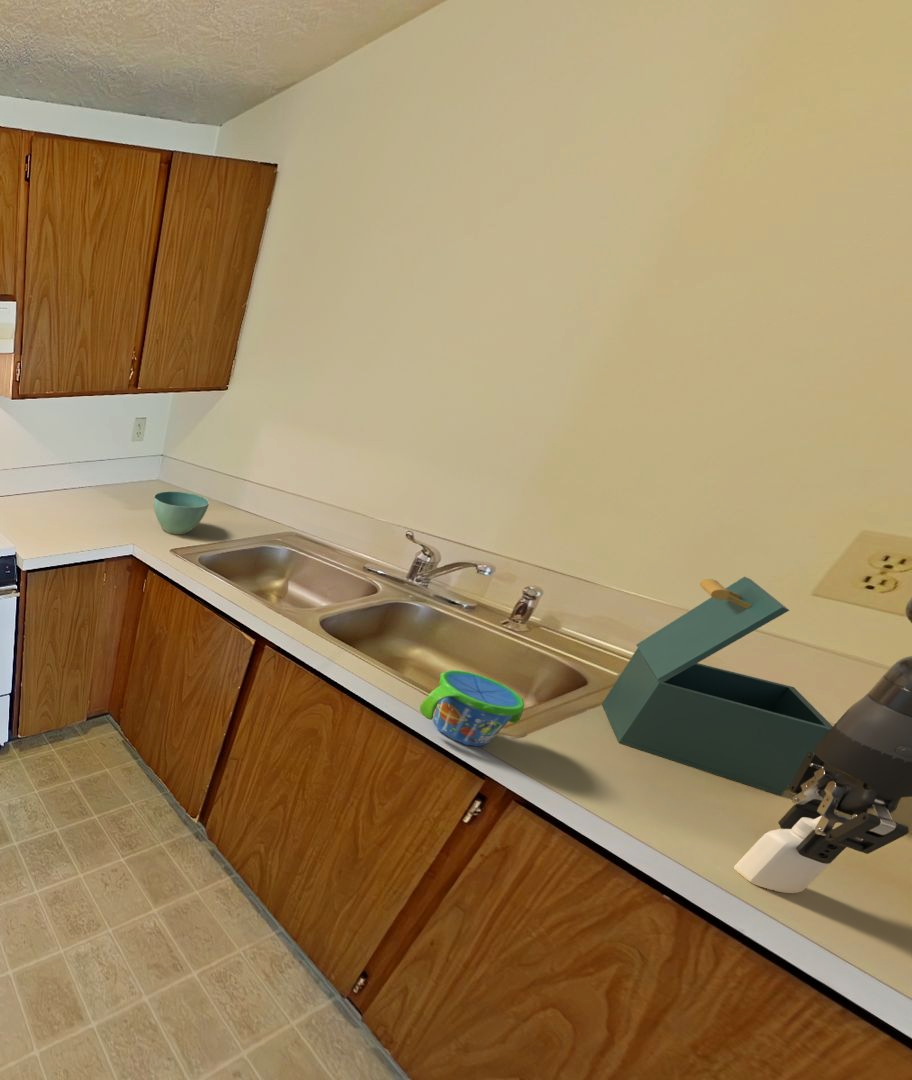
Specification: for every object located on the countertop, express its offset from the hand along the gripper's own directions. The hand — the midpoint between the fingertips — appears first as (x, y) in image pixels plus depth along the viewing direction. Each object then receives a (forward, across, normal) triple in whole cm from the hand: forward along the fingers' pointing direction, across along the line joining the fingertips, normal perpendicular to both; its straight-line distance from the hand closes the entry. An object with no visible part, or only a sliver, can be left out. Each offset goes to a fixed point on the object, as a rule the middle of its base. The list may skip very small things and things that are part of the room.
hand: (801, 843), depth 65 cm
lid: (-15, +32, +5) cm, 35 cm away
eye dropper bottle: (+7, 0, 0) cm, 7 cm away
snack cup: (+7, +9, +30) cm, 32 cm away
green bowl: (+7, +76, +106) cm, 131 cm away
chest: (+7, +32, 0) cm, 33 cm away
